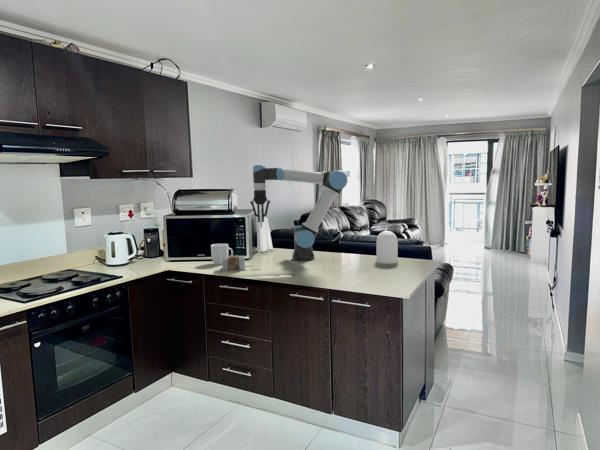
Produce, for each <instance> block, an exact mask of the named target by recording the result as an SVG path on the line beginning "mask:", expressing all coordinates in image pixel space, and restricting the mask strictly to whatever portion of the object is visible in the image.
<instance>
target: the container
mask: <svg viewBox="0 0 600 450" xmlns="http://www.w3.org/2000/svg"><path fill="white" fill-rule="evenodd" d="M375 246H376V249H375V250H376V252H375V253H376V254H375V255H376V263H378V264H385V265H386V264H387V265H389V264H396V263H398V261H399V259H398V258H399V256H398V255H399V252H398V249H399V247H398V246H399V241H398V237H397V235H396V234H395V233H394V232H393V231H391V230H383V231H382V232H380V233H379V234H378V235H377V237H376V245H375Z"/></svg>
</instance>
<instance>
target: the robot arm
mask: <svg viewBox="0 0 600 450" xmlns="http://www.w3.org/2000/svg"><path fill="white" fill-rule="evenodd" d="M252 177H253V179H252V180H253V199H252V200H250V201H249V202H250V204H251V207H252V211H253V214H254V216H255V217H257V223H259V228H263V223H264V222H265V217H266V216H267V215H268V210H269V206H270V203H271V201H270V200H269V199H268V198H267V190H266V189H267V188H266V184H267V183H266V181H284V182H285V181H286V182H298V183H306V184H316V185H321V187H323V190H322V193H321V194H320V196H319V198H318V200H317V202H316V203H315V204H314V207H313V209H312V210H311V212H310V213H309V216H308V218H307V219H306V221H305V222H302V223H301V225H294V227H293V228H294V229H293V232H294V233H293V234H294V237H293V238H294V249H293V251H292V255H291V258H292V260H293V261H295V262H296V261H297V262H308V261H309V262H310V261H314V260H315V259H316V257H315V253H314V250H313V245H314V244H315V240H316V237H317V235H319V230H318V229H319V226H320V225H321V223H322V221H323V220H324V218H325V216H326V214H327V213H328V211H329V209H330V207H331V206H332V204H333V202H334V201H335V198H336V197H337V196H340V194H341V192H342V190H343V189H344V188H345V187H346V186H347V184H348V177H347V175H346V173H345V172H344V171H342V170H341V169H335V170H329V171H326V170H322V171H321V172H319V171H310V170H297V169H288V168H284V167H266V166H265V165H264V164H255V165H253V167H252ZM265 203H266V206H265V209H264V205H265ZM254 204H256V205H257V206H256V207H257V208H256V207H255V205H254ZM260 205H261V211H260ZM256 209H257V211H256ZM264 210H265V211H264ZM260 212H261V214H260ZM260 215H261V216H260Z"/></svg>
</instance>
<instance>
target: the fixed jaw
mask: <svg viewBox="0 0 600 450" xmlns="http://www.w3.org/2000/svg"><path fill="white" fill-rule="evenodd" d="M228 257H229V256H228ZM228 257H223V259H222V264H221V265H222V268H223V272H229V265H228Z"/></svg>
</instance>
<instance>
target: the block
mask: <svg viewBox="0 0 600 450" xmlns="http://www.w3.org/2000/svg"><path fill="white" fill-rule="evenodd" d="M239 256H240V255H234V254H233V256H231V255H228V265H229V269H228V271H231V270H240V269H239V260H238V259H239Z"/></svg>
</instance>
